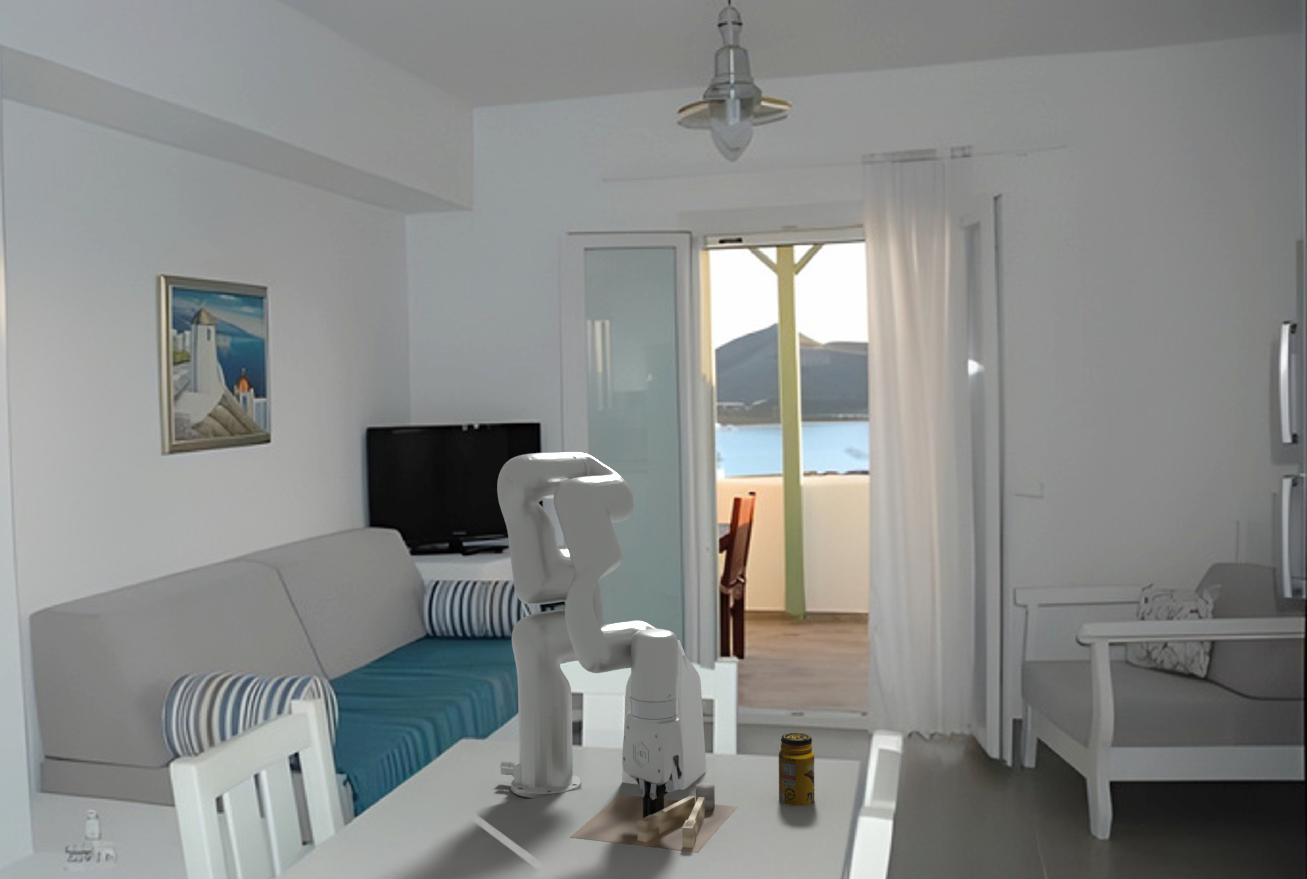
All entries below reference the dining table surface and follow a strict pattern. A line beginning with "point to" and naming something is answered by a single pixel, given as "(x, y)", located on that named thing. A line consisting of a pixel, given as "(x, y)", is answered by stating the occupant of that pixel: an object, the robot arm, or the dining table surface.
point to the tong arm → (665, 819)
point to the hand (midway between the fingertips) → (653, 820)
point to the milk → (684, 721)
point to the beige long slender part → (698, 813)
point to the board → (627, 810)
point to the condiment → (796, 770)
